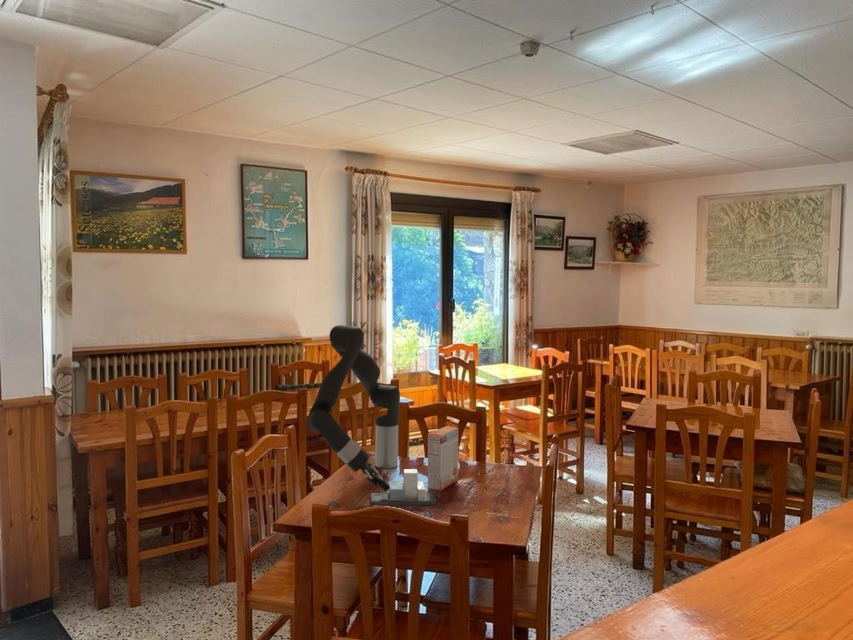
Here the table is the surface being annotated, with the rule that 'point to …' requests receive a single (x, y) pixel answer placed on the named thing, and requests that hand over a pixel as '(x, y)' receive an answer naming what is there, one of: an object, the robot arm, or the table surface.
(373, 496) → the vise bed
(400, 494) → the sliding jaw
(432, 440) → the cracker box
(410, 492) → the steel block
